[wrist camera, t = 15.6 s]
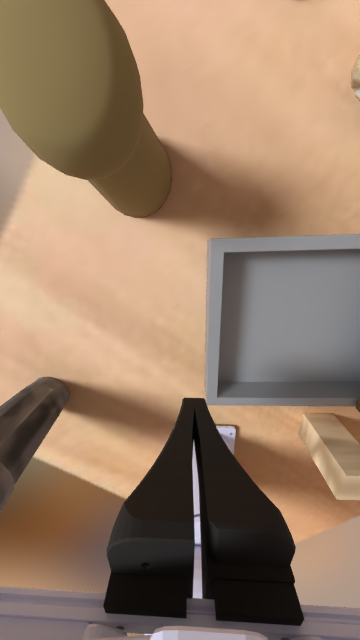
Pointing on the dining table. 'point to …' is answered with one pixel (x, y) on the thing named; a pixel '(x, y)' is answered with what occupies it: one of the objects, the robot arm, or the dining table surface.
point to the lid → (358, 405)
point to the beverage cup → (26, 428)
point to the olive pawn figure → (81, 99)
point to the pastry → (356, 78)
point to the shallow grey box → (283, 321)
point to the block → (333, 453)
